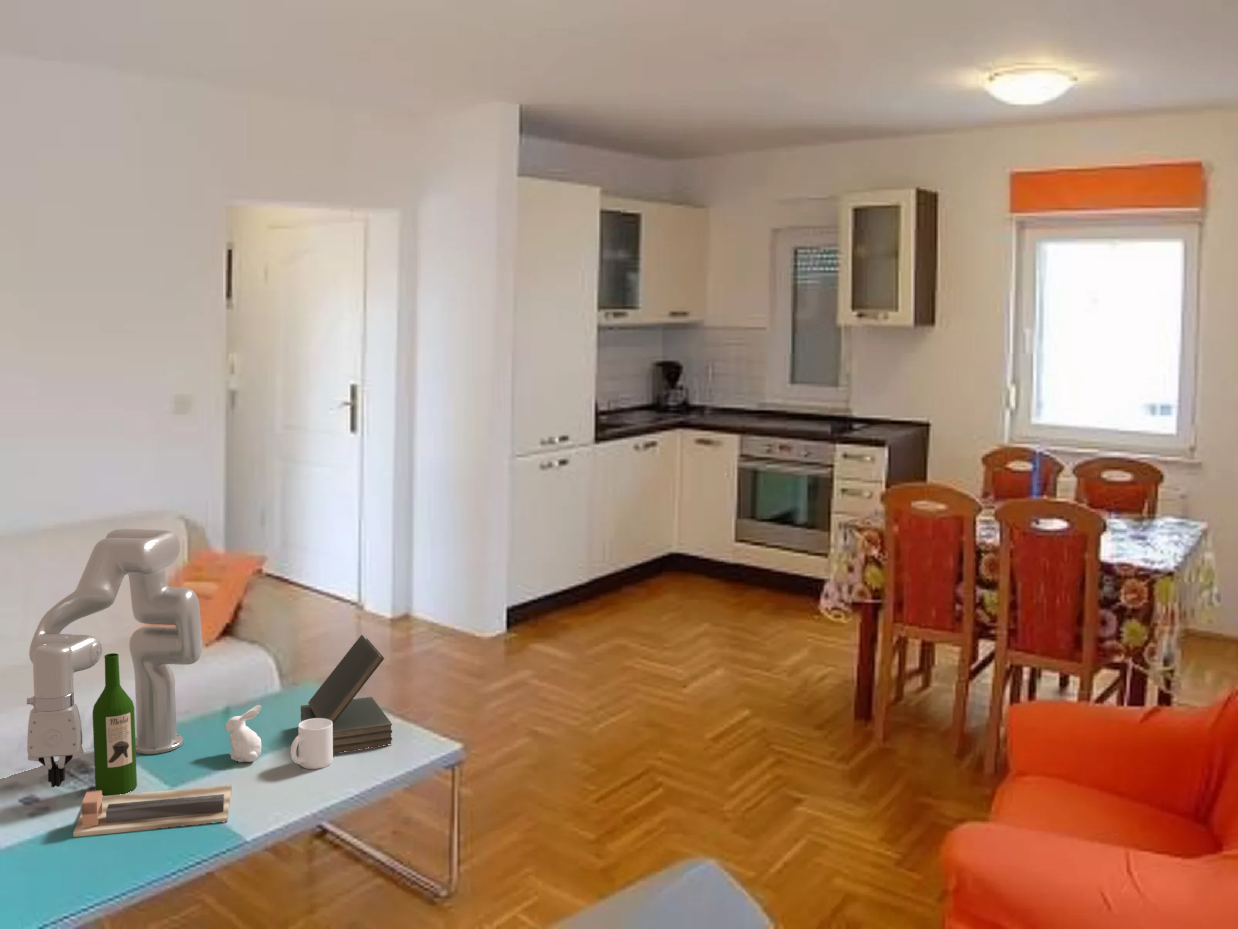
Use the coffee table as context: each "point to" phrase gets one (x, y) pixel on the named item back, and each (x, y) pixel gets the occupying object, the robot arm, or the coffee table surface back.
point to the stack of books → (351, 702)
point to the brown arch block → (91, 808)
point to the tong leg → (164, 801)
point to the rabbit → (244, 737)
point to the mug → (314, 743)
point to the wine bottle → (114, 735)
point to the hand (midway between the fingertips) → (56, 784)
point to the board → (159, 820)
